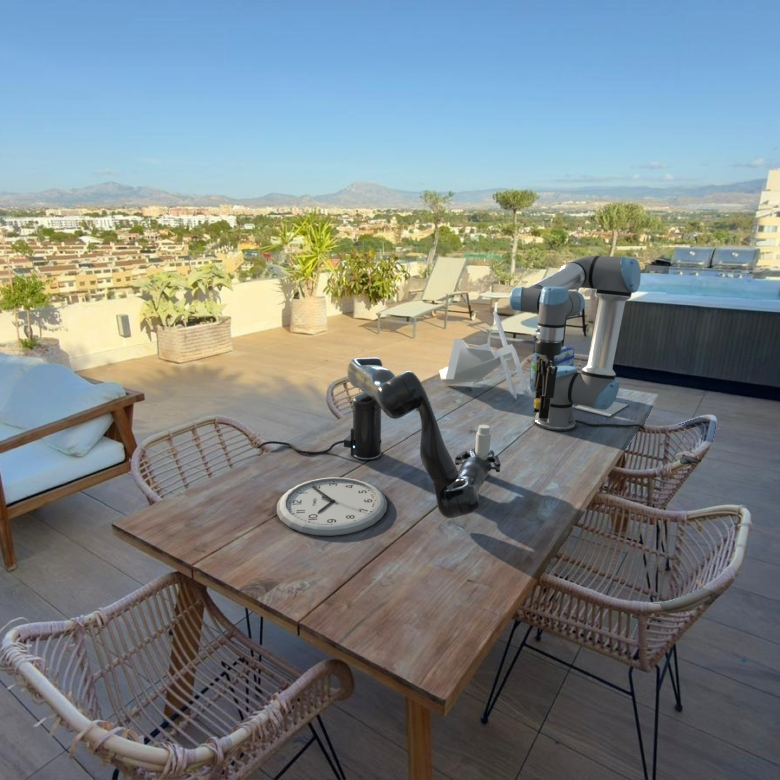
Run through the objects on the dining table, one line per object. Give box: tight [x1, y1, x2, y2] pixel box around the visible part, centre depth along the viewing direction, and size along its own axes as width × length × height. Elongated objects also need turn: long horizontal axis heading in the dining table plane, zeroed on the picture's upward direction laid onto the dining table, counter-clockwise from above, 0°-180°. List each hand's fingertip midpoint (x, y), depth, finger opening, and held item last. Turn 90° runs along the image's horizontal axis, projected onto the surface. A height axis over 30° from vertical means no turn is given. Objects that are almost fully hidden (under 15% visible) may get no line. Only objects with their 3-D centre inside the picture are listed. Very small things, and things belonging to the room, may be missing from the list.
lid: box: [532, 398, 550, 409], centre depth 159 cm, size 5×5×2 cm
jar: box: [474, 424, 492, 478], centre depth 160 cm, size 4×4×16 cm
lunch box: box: [529, 345, 575, 393], centre depth 245 cm, size 26×11×21 cm, turn 134°
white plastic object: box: [438, 310, 531, 400], centre depth 245 cm, size 37×45×31 cm
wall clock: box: [276, 476, 388, 537], centre depth 142 cm, size 30×2×30 cm
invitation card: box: [573, 401, 629, 418], centre depth 226 cm, size 21×1×15 cm
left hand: (483, 451), depth 162 cm, fingers closed on jar, 4 cm apart
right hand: (540, 414), depth 160 cm, fingers closed on lid, 5 cm apart
